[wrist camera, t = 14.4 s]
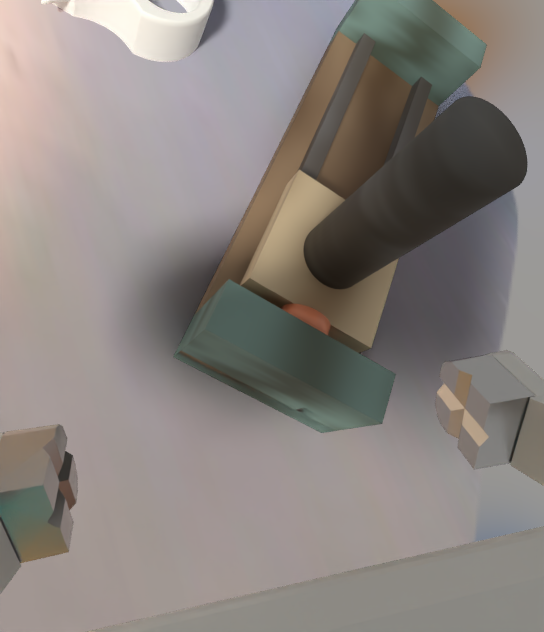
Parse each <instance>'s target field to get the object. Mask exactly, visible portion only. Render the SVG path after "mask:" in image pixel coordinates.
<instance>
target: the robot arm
mask: <svg viewBox="0 0 544 632" xmlns="http://www.w3.org/2000/svg"><path fill="white" fill-rule="evenodd" d="M439 377H440V378H441V380H442V381H443V382H444V384H443V385H442V387H441V388H440V389H439V390H438V391H437V393H436V401H435V407H436V412H437V417H438V419H439V421H440V424H441V425H442V427H443V428H444V430H445V431H446V432H447V433H448V434H450V435H452V436H454V437H456V438H458V439H459V440H458V449H459V450H460V451H461V453H462V454H463V455H464V457H465V458H466V459H467V461H468V462H469V463H470V465H471V466H472V467H473V469H474V470H475V469H480V468H486V467H492V466H498V465H503V464H509V463H511V464H510V465H511V466H512V467H514V468H516V469H518V470H519V471H521V472H522V473H524V474H525V475H527V476H529V477H530V478H532V479H533V480H535V481H537V482H538V483H540V484H541V485H543V486H544V379H542V378H541V377H540V376H539V375H538V374H537V373H536V372H535V371H533V370H532V369H531V368H530V367H528V365H527V364H525V363H524V362H523V361H522V360H521V359H520V358H519V357H518V356H516V355H515V354H514V353H513V352H510V351H507V350H506V351H500V352H494V353H489V354H486V355H481V356H475V357H469V358H463V359H457V360H451V361H445V362H444V363H443V365H442V367H441V370H440V376H439ZM66 444H67V437H66V434H65V431H64V429H63V426H61V425H60V424H57V425H50V426H43V427H36V428H28V429H21V430H14V431H7V432H6V433H4V432H3V433H0V594H1V593H2V591H3V590H4V589H5V587H6V586H7V584H8V583H9V582H10V580H11V579H12V578H13V576H14V575H15V574H16V572H17V571H18V570H19V568H20V567H21V564H20V563H24V562H29V561H33V560H37V559H41V558H46V557H50V556H54V555H59V554H63V553H67V552H69V548H70V541H71V535H72V528H73V519H72V516H71V513H70V509H71V508H72V507H73V506H74V505H75V504H76V501H77V493H78V477H77V470H76V465H75V461H74V458H73V455H71V454H69V453H68V452H66V451H65V449H66ZM87 632H544V526H543V527H539V528H534V529H530V530H525V531H521V532H516V533H512V534H508V535H503V536H499V537H495V538H490V539H486V540H482V541H478V542H473V543H469V544H464V545H460V546H456V547H451V548H447V549H443V550H439V551H434V552H430V553H426V554H421V555H417V556H413V557H408V558H404V559H400V560H395V561H391V562H386V563H382V564H378V565H373V566H369V567H365V568H360V569H356V570H352V571H347V572H343V573H339V574H334V575H330V576H326V577H321V578H317V579H313V580H308V581H304V582H300V583H295V584H291V585H286V586H282V587H278V588H273V589H269V590H265V591H260V592H256V593H252V594H247V595H243V596H239V597H234V598H230V599H226V600H221V601H217V602H213V603H208V604H204V605H200V606H195V607H191V608H187V609H182V610H178V611H174V612H169V613H165V614H161V615H156V616H152V617H147V618H143V619H139V620H134V621H130V622H126V623H121V624H117V625H113V626H108V627H104V628H100V629H95V630H91V631H87Z"/></svg>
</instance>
